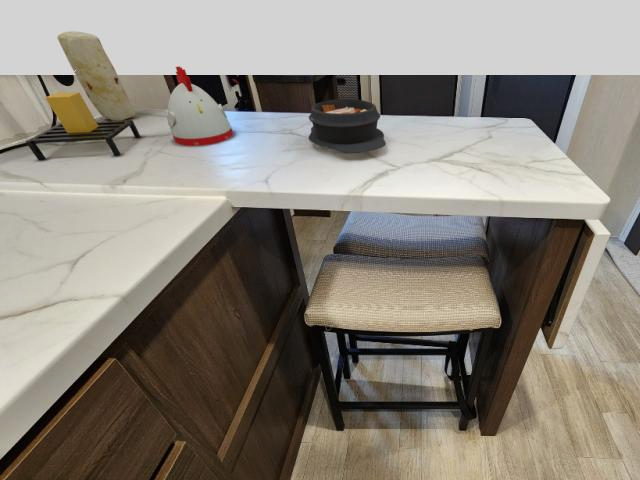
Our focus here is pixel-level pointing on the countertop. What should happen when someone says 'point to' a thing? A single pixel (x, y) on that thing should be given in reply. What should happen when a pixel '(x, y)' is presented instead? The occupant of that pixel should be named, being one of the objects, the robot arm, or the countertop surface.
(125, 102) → the food model
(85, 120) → the block
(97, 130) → the rack
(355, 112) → the casserole
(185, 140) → the kitchen timer
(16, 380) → the countertop surface
